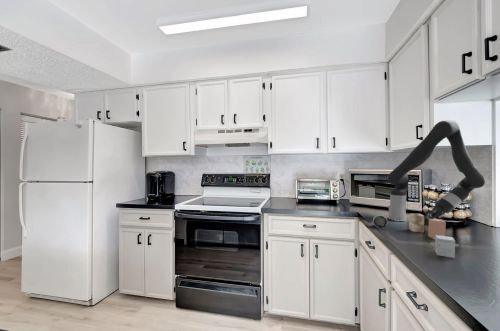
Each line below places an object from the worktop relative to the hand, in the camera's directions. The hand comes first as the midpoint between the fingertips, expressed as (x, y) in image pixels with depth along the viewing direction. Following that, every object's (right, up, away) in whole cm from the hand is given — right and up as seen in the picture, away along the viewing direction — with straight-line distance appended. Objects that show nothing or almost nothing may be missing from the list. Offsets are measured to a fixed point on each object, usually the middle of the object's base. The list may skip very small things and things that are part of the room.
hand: (422, 224), depth 137 cm
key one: (-3, -4, +1) cm, 5 cm away
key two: (-2, -4, -12) cm, 13 cm away
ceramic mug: (-18, -5, +14) cm, 23 cm away
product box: (-12, -6, -31) cm, 33 cm away
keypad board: (-1, -5, -6) cm, 8 cm away
